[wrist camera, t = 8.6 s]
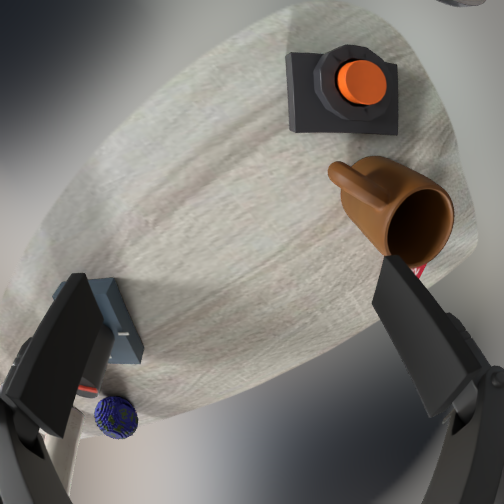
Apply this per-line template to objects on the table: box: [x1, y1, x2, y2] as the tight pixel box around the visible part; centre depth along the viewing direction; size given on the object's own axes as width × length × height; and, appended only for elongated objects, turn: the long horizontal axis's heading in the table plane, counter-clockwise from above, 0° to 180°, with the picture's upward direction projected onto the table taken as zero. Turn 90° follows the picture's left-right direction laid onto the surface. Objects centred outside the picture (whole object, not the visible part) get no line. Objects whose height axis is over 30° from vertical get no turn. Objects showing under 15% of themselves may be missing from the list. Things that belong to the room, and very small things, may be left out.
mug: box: [328, 156, 454, 269], centre depth 22 cm, size 12×8×9 cm, turn 64°
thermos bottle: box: [44, 407, 85, 496], centre depth 34 cm, size 8×8×28 cm
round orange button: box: [337, 60, 387, 105], centre depth 17 cm, size 4×4×2 cm
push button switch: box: [285, 44, 398, 136], centre depth 20 cm, size 8×10×4 cm
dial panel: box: [52, 278, 144, 364], centre depth 31 cm, size 12×9×3 cm
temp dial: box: [76, 323, 115, 398], centre depth 26 cm, size 5×5×8 cm
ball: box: [94, 396, 138, 439], centre depth 40 cm, size 8×8×8 cm
